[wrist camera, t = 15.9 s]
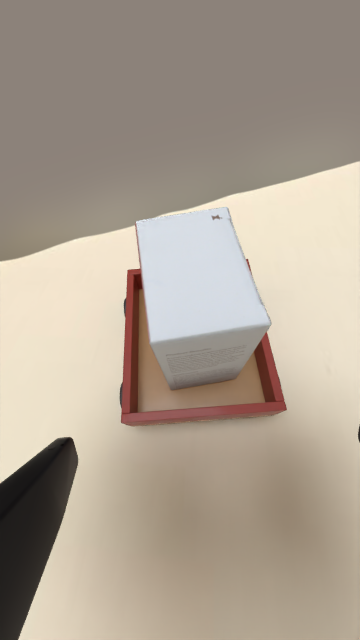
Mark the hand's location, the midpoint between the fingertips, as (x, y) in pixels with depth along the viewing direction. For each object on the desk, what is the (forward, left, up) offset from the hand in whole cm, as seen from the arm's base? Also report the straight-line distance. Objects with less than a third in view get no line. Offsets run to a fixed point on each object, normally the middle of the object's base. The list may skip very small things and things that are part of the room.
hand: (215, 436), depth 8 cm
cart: (+5, -9, -14) cm, 17 cm away
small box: (+4, -7, -12) cm, 14 cm away
